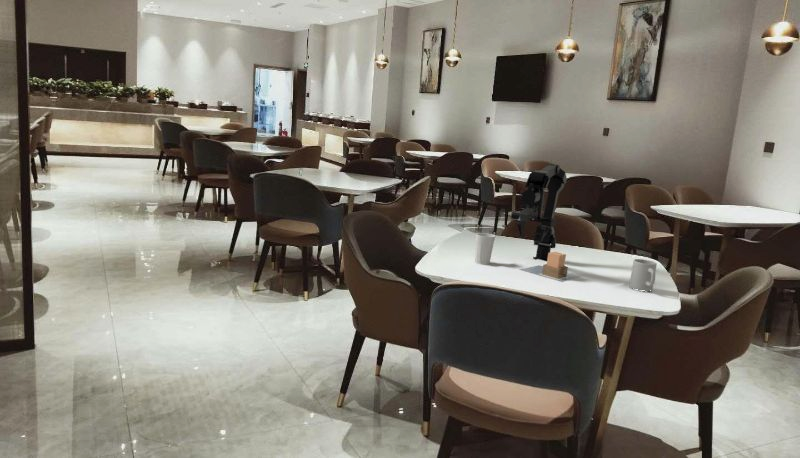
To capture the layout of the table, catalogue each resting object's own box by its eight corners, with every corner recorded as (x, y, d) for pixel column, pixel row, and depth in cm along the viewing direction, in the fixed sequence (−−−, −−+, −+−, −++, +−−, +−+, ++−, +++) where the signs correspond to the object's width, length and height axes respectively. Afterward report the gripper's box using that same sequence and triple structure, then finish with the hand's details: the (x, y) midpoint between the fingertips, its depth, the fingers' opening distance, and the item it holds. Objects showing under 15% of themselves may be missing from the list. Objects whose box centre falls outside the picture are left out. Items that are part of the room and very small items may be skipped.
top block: (553, 263, 245) (554, 251, 244) (564, 266, 242) (566, 254, 241) (546, 265, 242) (548, 252, 241) (557, 268, 238) (559, 255, 237)
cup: (491, 266, 251) (494, 237, 249) (472, 263, 253) (475, 235, 251) (492, 261, 259) (495, 234, 257) (473, 259, 260) (476, 232, 258)
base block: (551, 272, 247) (552, 262, 247) (566, 276, 243) (567, 266, 242) (541, 274, 242) (543, 264, 242) (557, 278, 238) (558, 268, 237)
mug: (624, 285, 240) (629, 258, 238) (644, 286, 242) (649, 259, 240) (640, 294, 229) (645, 266, 227) (661, 295, 230) (666, 267, 228)
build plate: (539, 266, 259) (539, 265, 258) (582, 278, 245) (582, 276, 245) (518, 271, 247) (518, 269, 247) (561, 283, 234) (562, 281, 233)
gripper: (505, 199, 250) (501, 236, 253) (546, 207, 238) (541, 245, 241) (520, 198, 258) (515, 233, 261) (559, 205, 246) (554, 242, 249)
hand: (531, 239), depth 253 cm, fingers open, 9 cm apart
